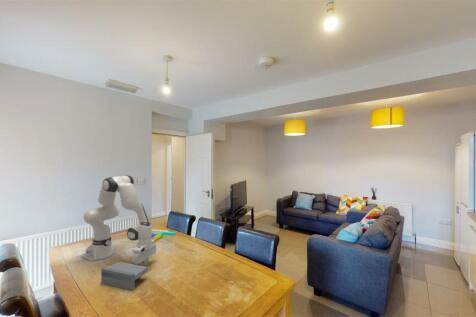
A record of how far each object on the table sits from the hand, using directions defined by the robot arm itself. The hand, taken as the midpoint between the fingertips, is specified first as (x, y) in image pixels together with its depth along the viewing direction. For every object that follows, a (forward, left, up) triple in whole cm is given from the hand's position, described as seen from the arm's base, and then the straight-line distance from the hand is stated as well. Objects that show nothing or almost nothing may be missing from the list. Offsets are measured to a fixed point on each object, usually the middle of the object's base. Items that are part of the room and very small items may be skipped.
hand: (145, 264), depth 152 cm
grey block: (0, -18, -2) cm, 18 cm away
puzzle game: (-31, +49, -3) cm, 58 cm away
